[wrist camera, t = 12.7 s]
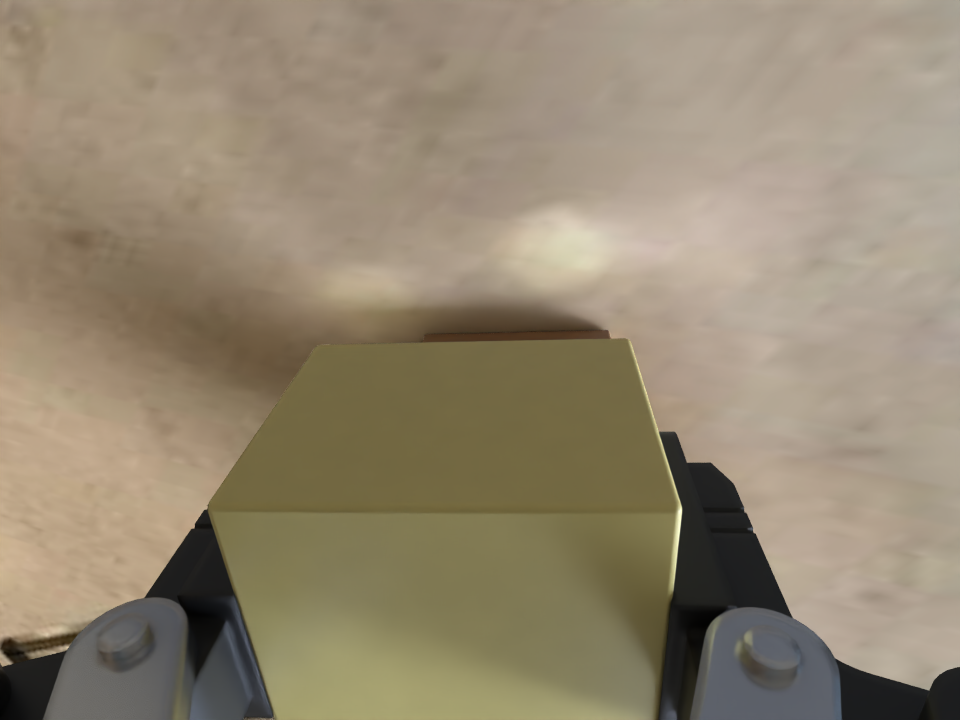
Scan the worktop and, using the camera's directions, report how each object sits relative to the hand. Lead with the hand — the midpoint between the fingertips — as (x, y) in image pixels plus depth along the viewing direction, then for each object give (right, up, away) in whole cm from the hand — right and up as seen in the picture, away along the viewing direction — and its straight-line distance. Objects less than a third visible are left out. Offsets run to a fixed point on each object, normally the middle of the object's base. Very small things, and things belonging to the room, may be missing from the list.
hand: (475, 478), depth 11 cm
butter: (0, 0, 0) cm, 0 cm away
